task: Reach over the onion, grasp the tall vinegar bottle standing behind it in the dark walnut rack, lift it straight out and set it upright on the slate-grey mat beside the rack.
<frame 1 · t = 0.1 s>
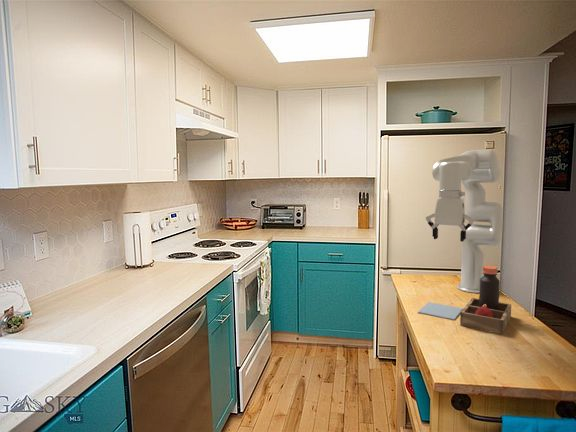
hand: (448, 239, 144), 31 cm above the worktop, tool pointing down, fingers open, 9 cm apart
rack: (486, 320, 145), on the worktop
onion: (483, 325, 141), resting in rack
vinegar: (488, 317, 148), resting in rack
mat: (440, 311, 156), on the worktop
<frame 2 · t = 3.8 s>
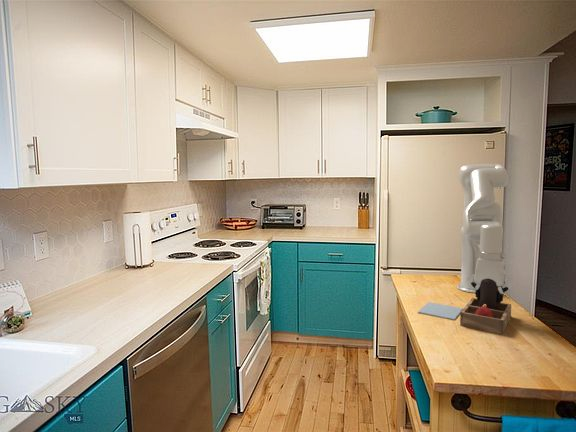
hand: (488, 300, 147), 7 cm above the worktop, tool pointing down, fingers closed on vinegar, 6 cm apart
vinegar: (488, 317, 148), resting in rack, touching gripper
everything else where it was.
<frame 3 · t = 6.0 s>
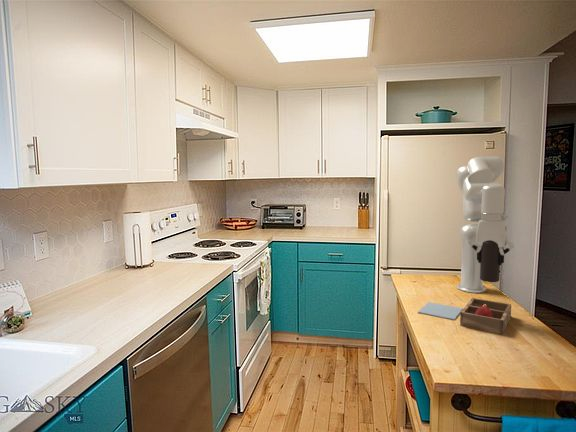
hand: (490, 263, 146), 22 cm above the worktop, tool pointing down, fingers closed on vinegar, 6 cm apart
vinegar: (489, 280, 147), point 15 cm above the worktop, touching gripper
everything else where it was.
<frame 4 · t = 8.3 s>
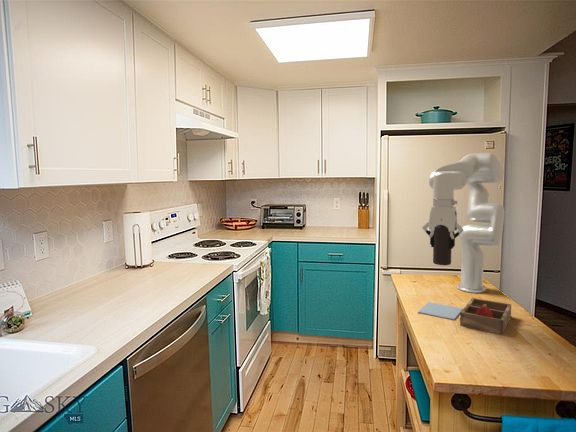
hand: (442, 247, 153), 27 cm above the worktop, tool pointing down, fingers closed on vinegar, 6 cm apart
vinegar: (441, 264, 153), point 20 cm above the worktop, touching gripper
everything else where it was.
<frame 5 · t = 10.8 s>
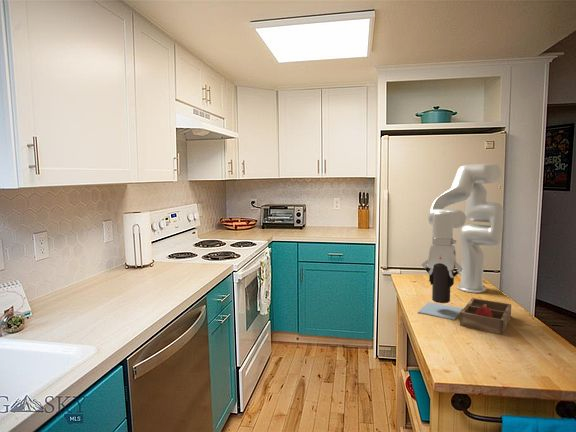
hand: (441, 284, 154), 11 cm above the worktop, tool pointing down, fingers closed on vinegar, 6 cm apart
vinegar: (441, 301, 155), point 4 cm above the worktop, touching gripper
everything else where it was.
when the fingers open (8 cm above the worktop, at t = 12.4 s): vinegar drops 1 cm, resting on mat.
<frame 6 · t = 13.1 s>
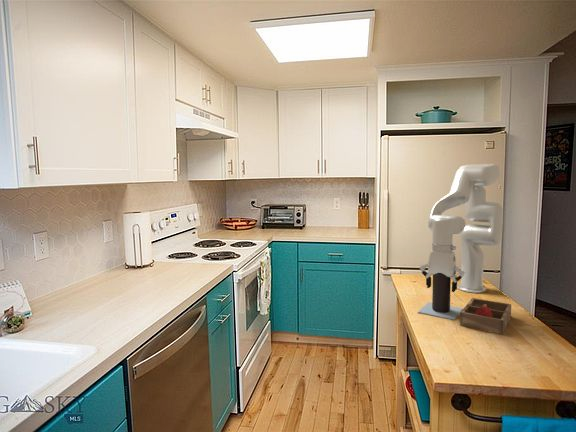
hand: (441, 289, 155), 9 cm above the worktop, tool pointing down, fingers open, 9 cm apart
vinegar: (441, 310, 156), resting on mat
everything else where it was.
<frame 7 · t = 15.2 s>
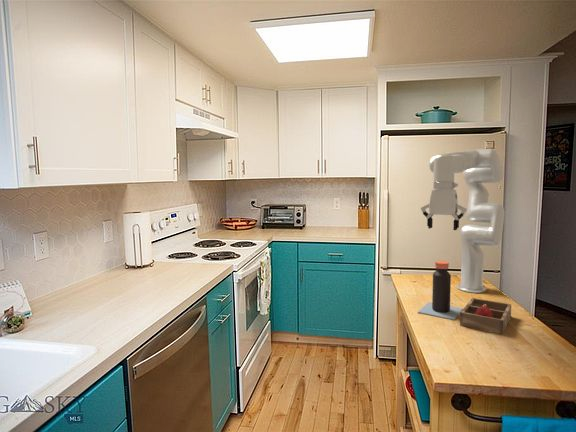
hand: (442, 229, 152), 34 cm above the worktop, tool pointing down, fingers open, 9 cm apart
nothing on the worktop moved.
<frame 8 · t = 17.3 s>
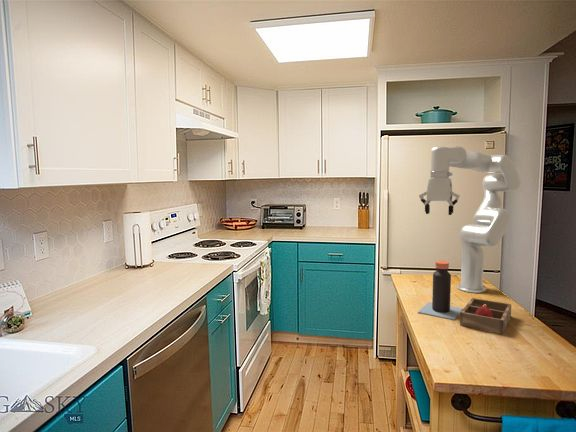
hand: (438, 214, 168), 38 cm above the worktop, tool pointing down, fingers open, 9 cm apart
nothing on the worktop moved.
at the end: vinegar inside the target area on the mat (0.1 cm from its centre), point 0.3 cm above the mat's base; vinegar tilted 0°; onion moved 0.2 cm from its start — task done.
